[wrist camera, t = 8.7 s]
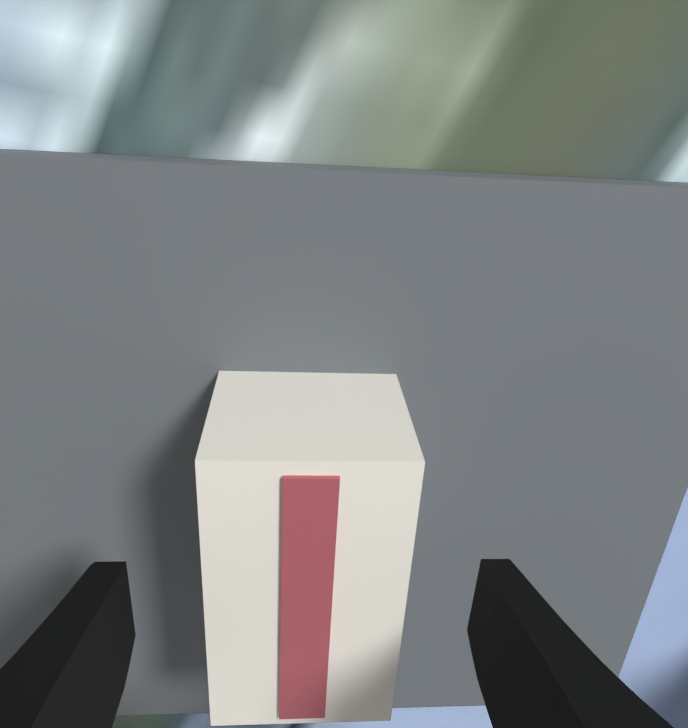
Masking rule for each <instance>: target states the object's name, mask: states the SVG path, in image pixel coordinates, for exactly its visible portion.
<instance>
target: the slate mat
mask: <svg viewBox="0 0 688 728" xmlns="http://www.w3.org/2000/svg"><path fill="white" fill-rule="evenodd" d="M219 371H260V372H311V373H363V374H396V375H397V378H398V381H399V384H400V387H401V390H402V393H403V396H404V399H405V402H406V405H407V408H408V411H409V414H410V417H411V420H412V423H413V426H414V429H415V433H416V436H417V439H418V442H419V445H420V448H421V451H422V454H423V457H424V460H425V467H424V475H423V482H422V490H421V497H420V505H419V512H418V519H417V527H416V534H415V542H414V549H413V557H412V564H411V571H410V579H409V586H408V594H407V601H406V609H405V616H404V623H403V631H402V638H401V646H400V653H399V661H398V668H397V675H396V683H395V690H394V698H393V705H392V708H408V707H443V706H479V705H485V702H484V699H483V696H482V693H481V689H480V686H479V683H478V680H477V676H476V671H475V667H474V662H473V658H472V653H471V648H470V643H469V638H468V633H467V627H468V622H469V617H470V612H471V607H472V602H473V597H474V592H475V586H476V581H477V576H478V571H479V566H480V561H481V559H510V560H511V561H512V562H513V563H514V564H515V565H516V567H517V568H518V569H519V570H520V571H521V572H522V574H523V575H524V576H525V577H526V578H527V579H528V581H529V582H530V583H531V584H532V585H533V586H534V588H535V589H536V590H537V591H538V592H539V593H540V595H541V596H542V597H543V598H544V599H545V600H546V601H547V603H548V604H549V605H550V606H551V607H552V608H553V609H554V611H555V612H556V613H557V614H558V615H559V616H560V617H561V618H562V620H563V621H564V622H565V623H566V624H567V625H568V626H569V627H570V628H571V629H572V630H573V632H574V633H575V634H576V635H577V636H578V637H579V638H580V639H581V640H582V641H583V642H584V643H585V644H586V646H587V647H588V648H589V649H590V650H591V651H592V652H593V653H594V654H595V655H596V656H597V657H598V658H599V659H600V660H601V661H602V662H603V663H604V664H605V665H606V666H607V667H608V668H609V669H610V670H611V671H612V672H613V673H614V674H615V675H616V676H617V677H618V676H619V673H620V671H621V668H622V665H623V662H624V660H625V657H626V654H627V651H628V649H629V646H630V643H631V640H632V638H633V635H634V632H635V629H636V627H637V624H638V621H639V619H640V616H641V613H642V610H643V608H644V605H645V602H646V599H647V597H648V594H649V591H650V588H651V586H652V583H653V580H654V577H655V575H656V572H657V569H658V566H659V564H660V561H661V558H662V555H663V553H664V550H665V547H666V544H667V542H668V539H669V536H670V533H671V531H672V528H673V525H674V522H675V520H676V517H677V514H678V511H679V509H680V506H681V503H682V500H683V498H684V495H685V492H686V489H687V487H688V183H681V182H660V181H640V180H620V179H599V178H579V177H559V176H538V175H518V174H498V173H477V172H457V171H436V170H416V169H396V168H375V167H355V166H335V165H314V164H294V163H274V162H253V161H233V160H213V159H192V158H172V157H152V156H131V155H111V154H91V153H70V152H50V151H30V150H9V149H0V669H1V668H2V667H3V666H4V664H5V663H6V662H7V661H8V660H9V659H10V658H11V657H12V656H13V655H14V654H15V653H16V652H17V651H18V649H19V648H20V647H21V646H22V645H23V644H24V643H25V642H26V641H27V639H28V638H29V637H30V636H31V635H32V634H33V633H34V632H35V630H36V629H37V628H38V627H39V626H40V625H41V624H42V623H43V621H44V620H45V619H46V618H47V617H48V616H49V614H50V613H51V612H52V611H53V610H54V609H55V607H56V606H57V605H58V604H59V603H60V601H61V600H62V599H63V598H64V597H65V595H66V594H67V593H68V592H69V591H70V589H71V588H72V587H73V586H74V584H75V583H76V582H77V581H78V580H79V578H80V577H81V576H82V575H83V573H84V572H85V571H86V570H87V568H88V567H89V566H90V565H91V564H92V563H94V562H113V561H126V564H127V572H128V580H129V588H130V595H131V603H132V611H133V619H134V626H135V634H136V636H135V641H134V646H133V651H132V656H131V660H130V665H129V670H128V674H127V679H126V683H125V688H124V691H123V694H122V697H121V700H120V704H119V707H118V710H117V713H116V716H123V715H158V714H194V713H210V705H209V689H208V672H207V655H206V639H205V622H204V605H203V588H202V572H201V555H200V538H199V522H198V505H197V488H196V472H195V458H196V454H197V451H198V447H199V443H200V439H201V436H202V432H203V428H204V425H205V421H206V417H207V414H208V410H209V406H210V402H211V399H212V395H213V391H214V388H215V384H216V380H217V377H218V373H219Z"/></svg>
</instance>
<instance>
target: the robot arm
mask: <svg viewBox="0 0 688 728" xmlns="http://www.w3.org/2000/svg"><path fill="white" fill-rule="evenodd" d="M467 633H468V638H469V643H470V648H471V653H472V658H473V662H474V667H475V671H476V676H477V680H478V683H479V686H480V689H481V693H482V696H483V699H484V702H485V705H486V708H487V711H488V714H489V717H490V720H491V723H492V726H493V728H673V727H672V726H671V725H670V724H669V723H668V722H667V721H665V720H664V719H663V718H662V717H661V716H660V715H658V714H657V713H656V712H655V711H654V710H653V709H652V708H650V707H649V706H648V705H647V704H646V703H645V702H644V701H642V700H641V699H640V698H639V697H638V696H637V695H636V694H635V693H634V692H633V691H632V690H630V689H629V688H628V687H627V686H626V685H625V684H624V683H623V682H622V681H621V680H620V679H619V678H618V677H617V676H616V675H615V674H614V673H613V672H612V671H611V670H610V669H609V668H608V667H607V666H606V665H605V664H604V663H603V662H602V661H601V660H600V659H599V658H598V657H597V656H596V655H595V654H594V653H593V652H592V651H591V650H590V649H589V648H588V647H587V646H586V644H585V643H584V642H583V641H582V640H581V639H580V638H579V637H578V636H577V635H576V634H575V633H574V632H573V630H572V629H571V628H570V627H569V626H568V625H567V624H566V623H565V622H564V621H563V620H562V618H561V617H560V616H559V615H558V614H557V613H556V612H555V611H554V609H553V608H552V607H551V606H550V605H549V604H548V603H547V601H546V600H545V599H544V598H543V597H542V596H541V595H540V593H539V592H538V591H537V590H536V589H535V588H534V586H533V585H532V584H531V583H530V582H529V581H528V579H527V578H526V577H525V576H524V575H523V574H522V572H521V571H520V570H519V569H518V568H517V567H516V565H515V564H514V563H513V562H512V561H511V560H510V559H481V561H480V566H479V571H478V576H477V581H476V586H475V592H474V597H473V602H472V607H471V612H470V617H469V622H468V627H467ZM135 636H136V634H135V626H134V619H133V611H132V603H131V595H130V588H129V580H128V572H127V564H126V561H113V562H94V563H92V564H91V565H90V566H89V567H88V568H87V570H86V571H85V572H84V573H83V575H82V576H81V577H80V578H79V580H78V581H77V582H76V583H75V584H74V586H73V587H72V588H71V589H70V591H69V592H68V593H67V594H66V595H65V597H64V598H63V599H62V600H61V601H60V603H59V604H58V605H57V606H56V607H55V609H54V610H53V611H52V612H51V613H50V614H49V616H48V617H47V618H46V619H45V620H44V621H43V623H42V624H41V625H40V626H39V627H38V628H37V629H36V630H35V632H34V633H33V634H32V635H31V636H30V637H29V638H28V639H27V641H26V642H25V643H24V644H23V645H22V646H21V647H20V648H19V649H18V651H17V652H16V653H15V654H14V655H13V656H12V657H11V658H10V659H9V660H8V661H7V662H6V663H5V664H4V666H3V667H2V668H1V669H0V728H112V725H113V722H114V719H115V716H116V713H117V710H118V707H119V704H120V700H121V697H122V694H123V691H124V688H125V683H126V679H127V674H128V670H129V665H130V660H131V656H132V651H133V646H134V641H135Z"/></svg>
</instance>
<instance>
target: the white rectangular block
mask: <svg viewBox="0 0 688 728" xmlns="http://www.w3.org/2000/svg"><path fill="white" fill-rule="evenodd" d="M424 467H425V460H424V457H423V454H422V451H421V448H420V445H419V442H418V439H417V436H416V433H415V429H414V426H413V423H412V420H411V417H410V414H409V411H408V408H407V405H406V402H405V399H404V396H403V393H402V390H401V387H400V384H399V381H398V378H397V375H396V374H363V373H311V372H260V371H219V373H218V377H217V380H216V384H215V388H214V391H213V395H212V399H211V402H210V406H209V410H208V414H207V417H206V421H205V425H204V428H203V432H202V436H201V439H200V443H199V447H198V451H197V454H196V458H195V472H196V488H197V505H198V522H199V538H200V555H201V572H202V588H203V605H204V622H205V639H206V655H207V672H208V689H209V705H210V722H211V726H225V725H258V724H291V723H324V722H358V721H390V720H391V713H392V705H393V698H394V690H395V683H396V675H397V668H398V661H399V653H400V646H401V638H402V631H403V623H404V616H405V609H406V601H407V594H408V586H409V579H410V571H411V564H412V557H413V549H414V542H415V534H416V527H417V519H418V512H419V505H420V497H421V490H422V482H423V475H424Z"/></svg>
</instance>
